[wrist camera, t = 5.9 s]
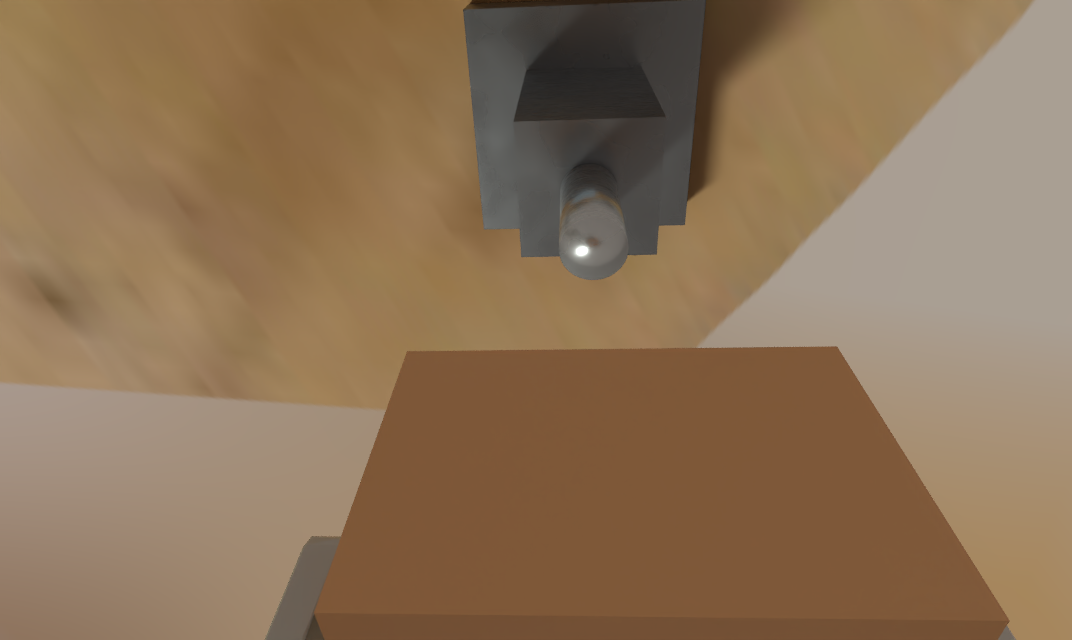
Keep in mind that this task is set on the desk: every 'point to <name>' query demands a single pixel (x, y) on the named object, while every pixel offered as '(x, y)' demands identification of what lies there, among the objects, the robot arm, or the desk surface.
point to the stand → (584, 123)
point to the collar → (645, 506)
